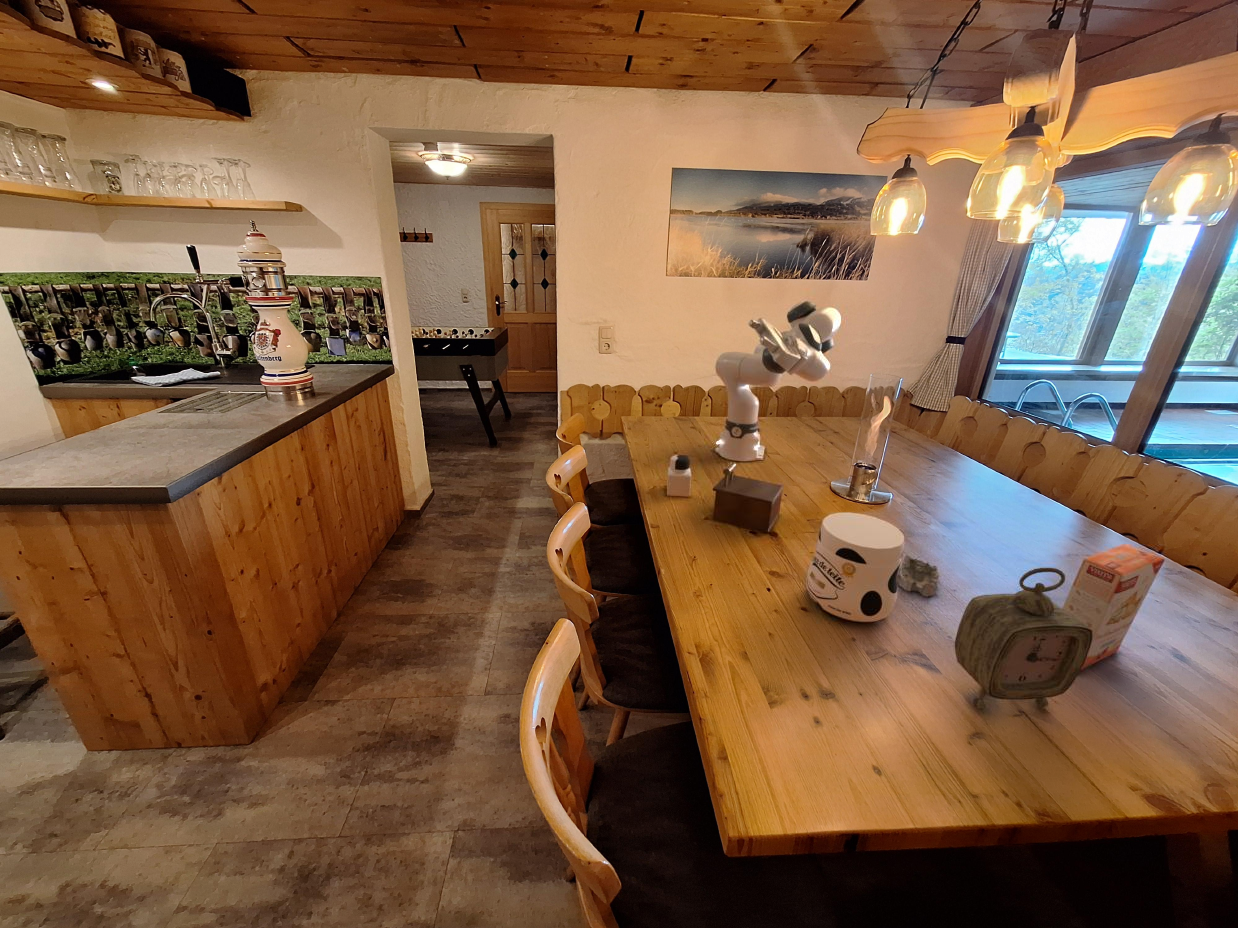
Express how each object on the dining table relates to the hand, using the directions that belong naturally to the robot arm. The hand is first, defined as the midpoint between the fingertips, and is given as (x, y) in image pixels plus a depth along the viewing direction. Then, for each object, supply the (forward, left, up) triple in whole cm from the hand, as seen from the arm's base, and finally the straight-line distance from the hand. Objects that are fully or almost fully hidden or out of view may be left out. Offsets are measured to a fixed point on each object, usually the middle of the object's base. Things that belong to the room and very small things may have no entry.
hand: (756, 330), depth 138 cm
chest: (+15, +7, -51) cm, 53 cm away
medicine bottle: (+9, -17, -51) cm, 54 cm away
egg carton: (+26, +50, -51) cm, 76 cm away
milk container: (+43, +37, -51) cm, 76 cm away
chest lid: (+15, +7, -42) cm, 45 cm away
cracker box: (+36, +77, -51) cm, 99 cm away
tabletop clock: (+56, +62, -51) cm, 98 cm away
